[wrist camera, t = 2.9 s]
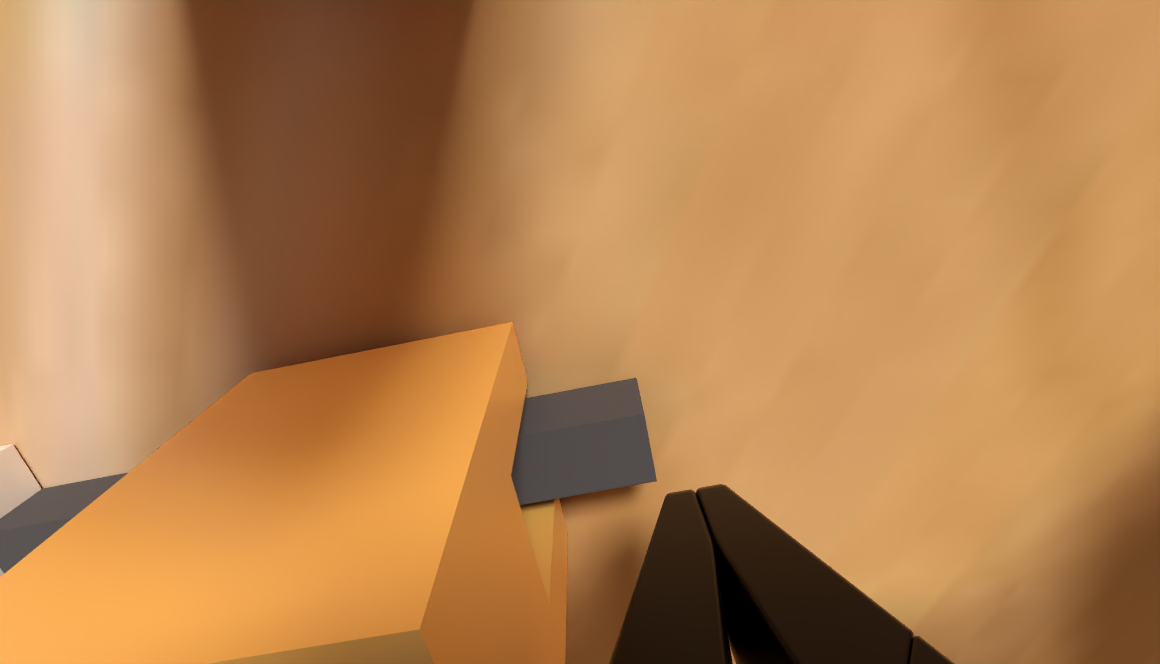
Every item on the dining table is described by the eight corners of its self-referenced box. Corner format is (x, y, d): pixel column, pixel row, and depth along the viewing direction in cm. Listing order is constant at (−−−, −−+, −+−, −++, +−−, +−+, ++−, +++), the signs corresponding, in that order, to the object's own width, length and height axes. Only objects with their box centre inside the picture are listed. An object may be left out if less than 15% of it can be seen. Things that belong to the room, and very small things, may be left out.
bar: (636, 377, 11) (644, 413, 10) (647, 439, 12) (657, 481, 10) (-152, 525, 12) (-239, 574, 11) (-112, 575, 13) (-190, 628, 12)
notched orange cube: (512, 321, 10) (419, 630, 4) (568, 532, 12) (558, 969, 6) (250, 373, 11) (-184, 726, 5) (340, 571, 12) (109, 1023, 6)
